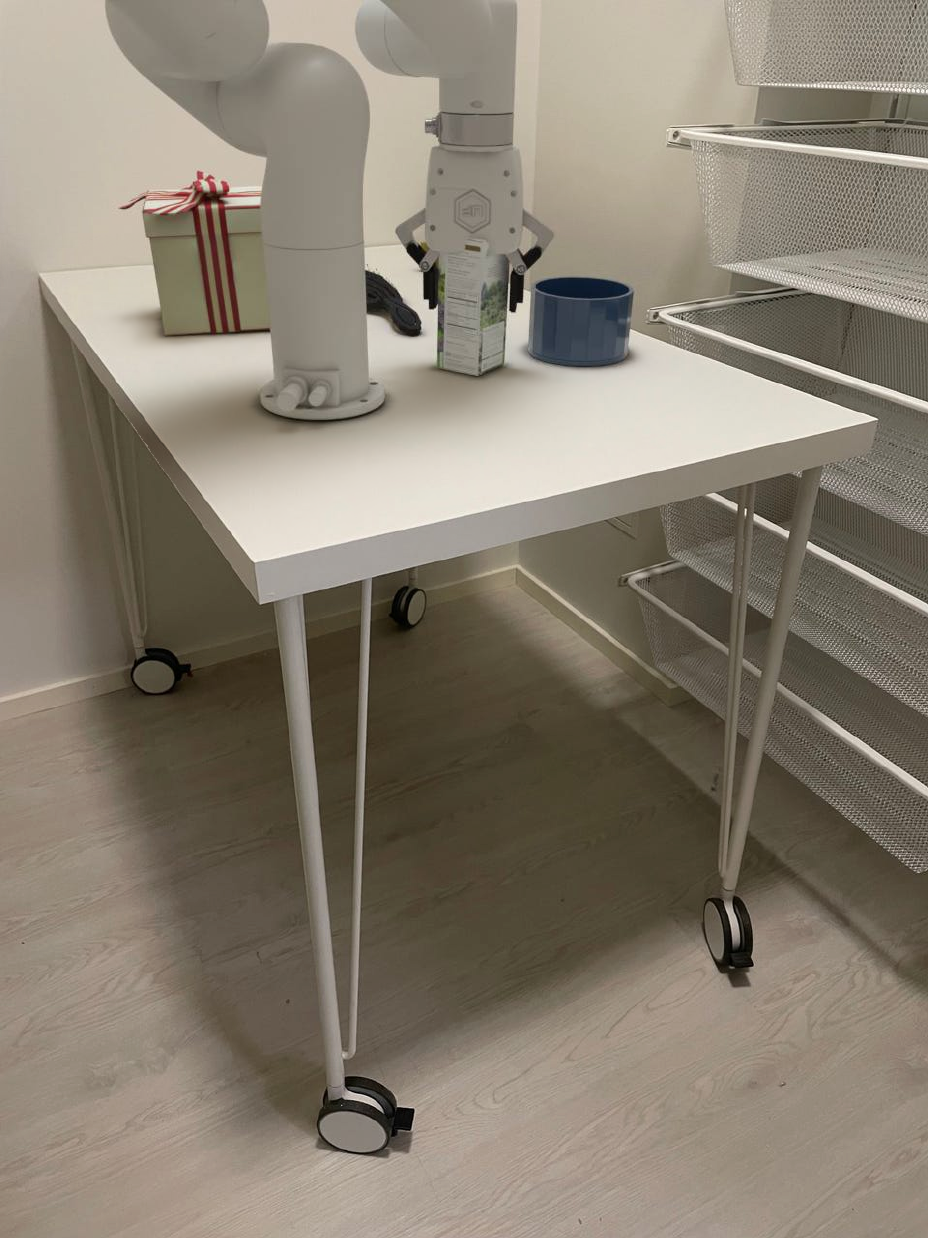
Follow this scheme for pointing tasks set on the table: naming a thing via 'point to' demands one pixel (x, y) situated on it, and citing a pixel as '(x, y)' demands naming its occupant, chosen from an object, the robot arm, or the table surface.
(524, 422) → the table surface
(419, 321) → the hairbrush
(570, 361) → the crock
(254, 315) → the gift box
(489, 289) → the syrup box
